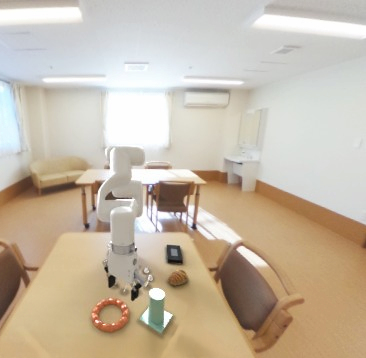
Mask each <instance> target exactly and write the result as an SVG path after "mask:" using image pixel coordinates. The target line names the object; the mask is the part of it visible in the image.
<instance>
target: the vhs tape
mask: <svg viewBox="0 0 366 358" xmlns="http://www.w3.org/2000/svg"><path fill="white" fill-rule="evenodd" d="M181 249H182V248H181V245H178V244H166V259H167V263H168V264H180V265H181V264H183V262H184V260H183V259H184V258H183V255H182V250H181Z"/></svg>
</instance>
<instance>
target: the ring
mask: <svg viewBox="0 0 366 358" xmlns="http://www.w3.org/2000/svg"><path fill="white" fill-rule="evenodd" d="M109 305H114V306H117V307H118V308H120V310H121V312H122V315H121V318H120V319H119V320H118V321H116V322H113V323H105V322H103V321H102V320H101V319H100V317H99V314H100V311H101V310H102V309H103V308H104V307H107V306H109ZM90 317H91V320H92V324H93V326H94V327H96V328H97V329H98V330H100V331H101V332H108V333H112V332H113V333H114V332H115V331H118V330H121V329H122V328H123V327H125V325H126V324H127V323H128V322H129V319H130V309H129V307H128V306H127V304H126V303H125V302H124V301H123V300H121V299H119V298H116V297H115V298H114V297H109V298H106V299H105V298H104V299H102V300H100V301H99V302H98V303H96V305H95V306H94V307H93V309H92V312H91V315H90Z"/></svg>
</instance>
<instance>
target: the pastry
mask: <svg viewBox="0 0 366 358" xmlns="http://www.w3.org/2000/svg"><path fill="white" fill-rule="evenodd" d="M188 280H189V276H188V274H187V272H186V271H185V270H184V269H181V268H179V269H177V270H174V271H173V272H172V273H171V274H170V275H169V277H168V284H170V285H171V286H174V287H177V286H181V285H183V284H185V283H187V281H188Z"/></svg>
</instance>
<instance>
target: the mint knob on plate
mask: <svg viewBox="0 0 366 358" xmlns="http://www.w3.org/2000/svg"><path fill="white" fill-rule="evenodd" d="M165 301H166V293H165V291H164V290H163V289H161V288H159V287H153V288H151V289H150V290H149V292H148V307H147V309H146V310H144V312H143V313H142V315H141V316H140V317H139V318H138V320H139V321H141V322H142V323H143V324H146V325H147V326H148V327H150V328H151V329H153V330H155V331H156V332H158V333H159V334H162V333H163V332H164V330H165V328H166V327H167V325H168V324H169V322H170V321H171V319H172V318H173V314H172V313H170V312H169V311H166V310H165V307H166V306H165V304H166V302H165Z"/></svg>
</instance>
